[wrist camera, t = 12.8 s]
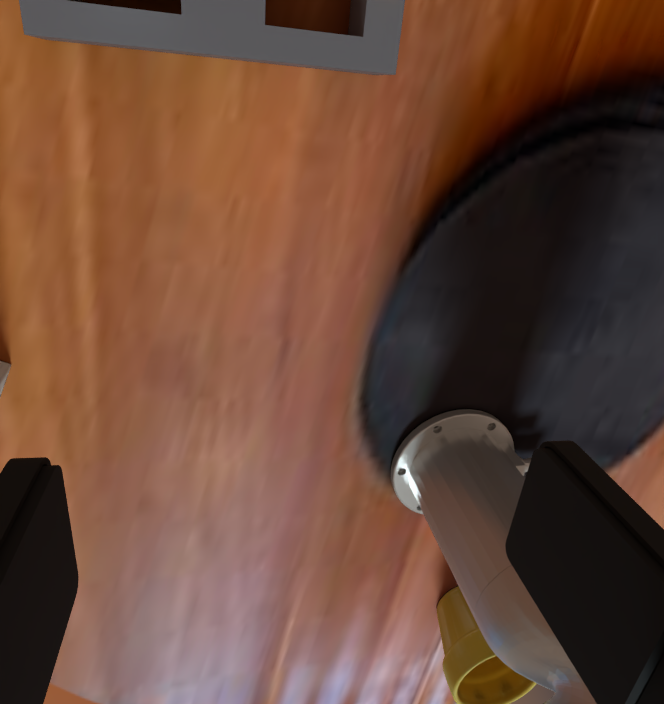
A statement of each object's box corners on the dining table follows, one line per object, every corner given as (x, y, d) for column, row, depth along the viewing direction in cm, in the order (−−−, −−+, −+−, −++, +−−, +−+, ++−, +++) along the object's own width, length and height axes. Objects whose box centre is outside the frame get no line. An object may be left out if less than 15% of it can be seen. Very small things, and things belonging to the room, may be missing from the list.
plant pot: (435, 572, 59) (472, 654, 51) (513, 570, 62) (560, 647, 54) (410, 631, 64) (441, 716, 55) (484, 627, 67) (524, 707, 58)
